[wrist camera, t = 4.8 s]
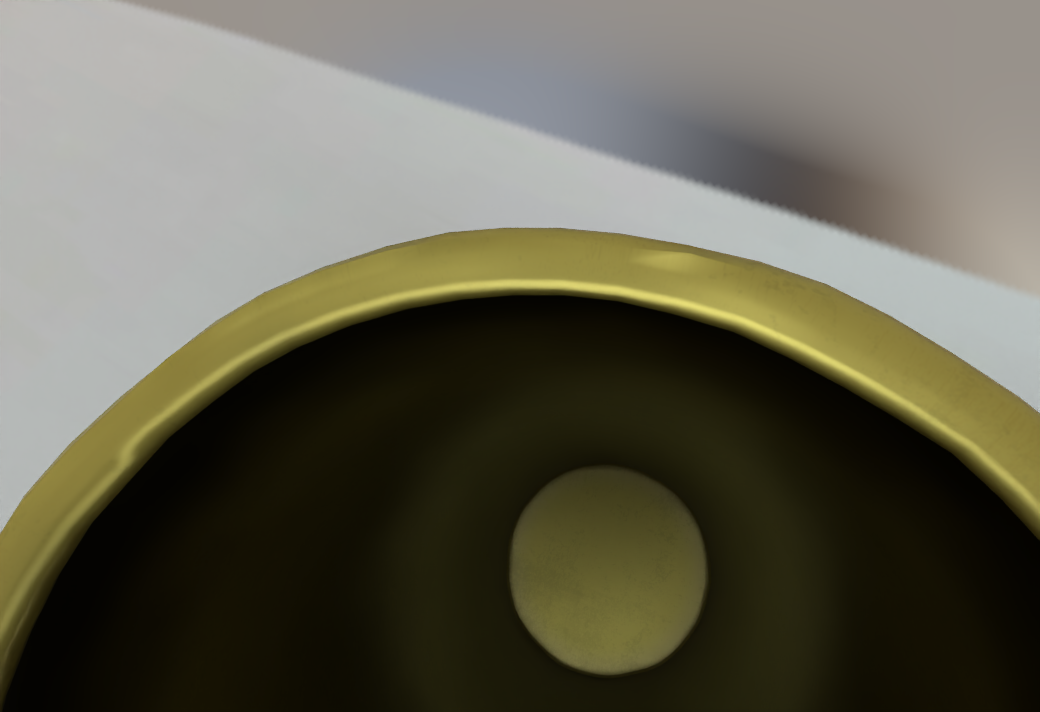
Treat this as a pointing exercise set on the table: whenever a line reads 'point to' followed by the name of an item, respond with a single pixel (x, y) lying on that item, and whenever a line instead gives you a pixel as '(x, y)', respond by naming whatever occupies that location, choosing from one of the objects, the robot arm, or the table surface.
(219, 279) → the table surface
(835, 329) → the vase
